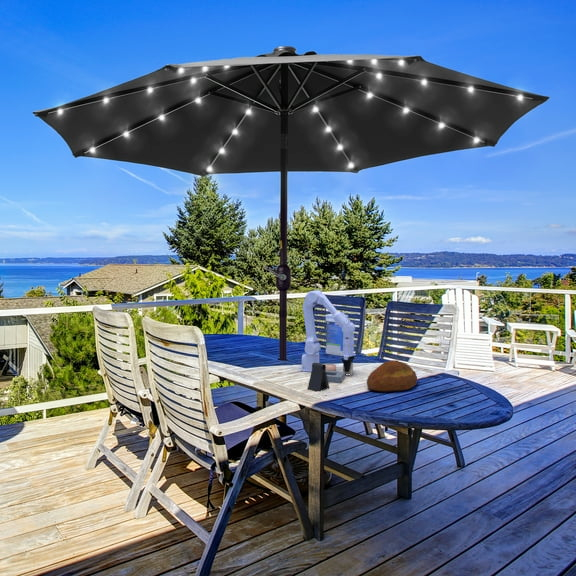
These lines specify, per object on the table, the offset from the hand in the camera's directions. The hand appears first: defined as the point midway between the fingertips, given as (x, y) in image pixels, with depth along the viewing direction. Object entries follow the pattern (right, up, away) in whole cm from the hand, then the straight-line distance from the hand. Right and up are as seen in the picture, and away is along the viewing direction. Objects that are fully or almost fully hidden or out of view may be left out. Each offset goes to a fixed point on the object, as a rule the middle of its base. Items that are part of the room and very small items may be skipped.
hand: (348, 370), depth 248 cm
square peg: (0, -2, 0) cm, 2 cm away
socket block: (-10, -3, -11) cm, 16 cm away
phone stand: (-18, -4, -29) cm, 34 cm away
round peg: (-9, -2, 0) cm, 10 cm away
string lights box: (0, +1, +56) cm, 56 cm away
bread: (+19, -4, -23) cm, 30 cm away
